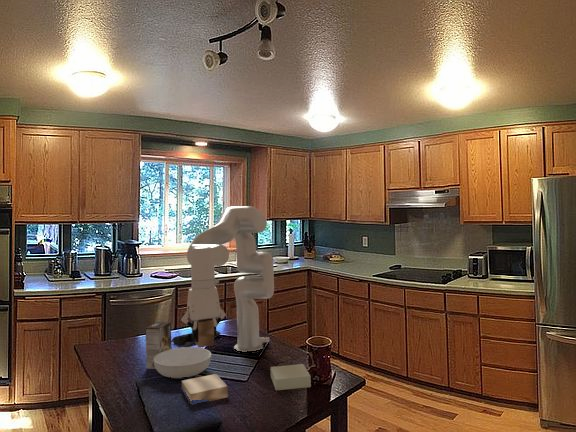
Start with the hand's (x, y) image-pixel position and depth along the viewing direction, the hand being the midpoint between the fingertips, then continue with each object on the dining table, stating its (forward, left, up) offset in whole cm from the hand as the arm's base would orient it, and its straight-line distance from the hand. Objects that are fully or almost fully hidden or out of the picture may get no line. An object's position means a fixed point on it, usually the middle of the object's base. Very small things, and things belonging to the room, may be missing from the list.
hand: (204, 339), depth 137 cm
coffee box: (+8, -36, -18) cm, 41 cm away
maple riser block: (0, 0, -19) cm, 19 cm away
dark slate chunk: (-14, -63, -19) cm, 67 cm away
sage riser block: (-29, +5, -19) cm, 35 cm away
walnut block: (0, 0, -2) cm, 2 cm away
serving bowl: (+2, -22, -19) cm, 29 cm away
